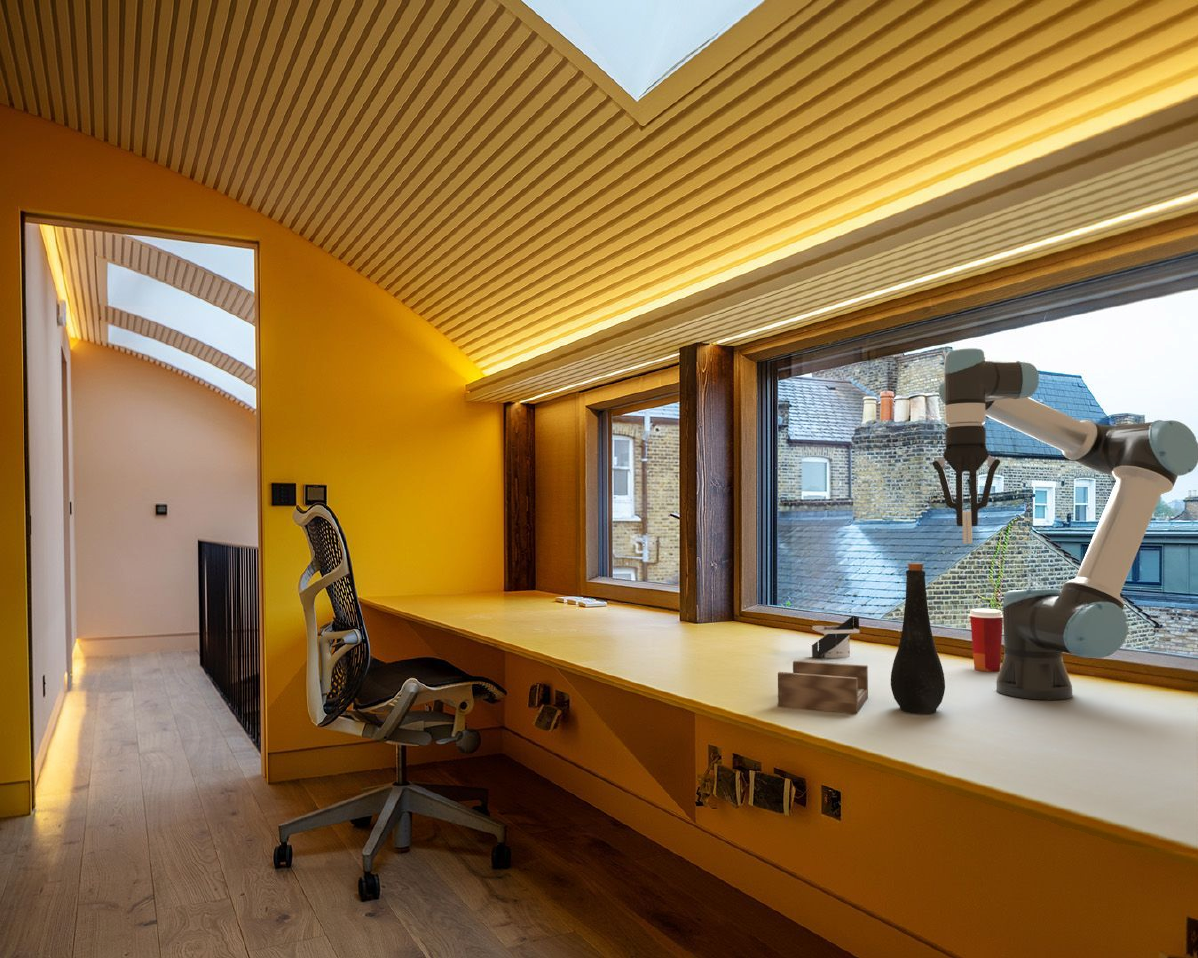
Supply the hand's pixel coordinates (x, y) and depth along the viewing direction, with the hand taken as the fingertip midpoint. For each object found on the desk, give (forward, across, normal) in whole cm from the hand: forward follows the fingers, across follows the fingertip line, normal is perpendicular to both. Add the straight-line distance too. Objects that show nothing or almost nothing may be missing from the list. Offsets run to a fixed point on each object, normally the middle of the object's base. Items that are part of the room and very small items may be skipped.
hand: (967, 542), depth 177 cm
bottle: (+35, +10, 0) cm, 36 cm away
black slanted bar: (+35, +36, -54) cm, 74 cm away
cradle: (+34, +29, 0) cm, 45 cm away
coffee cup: (+35, -2, -53) cm, 63 cm away
